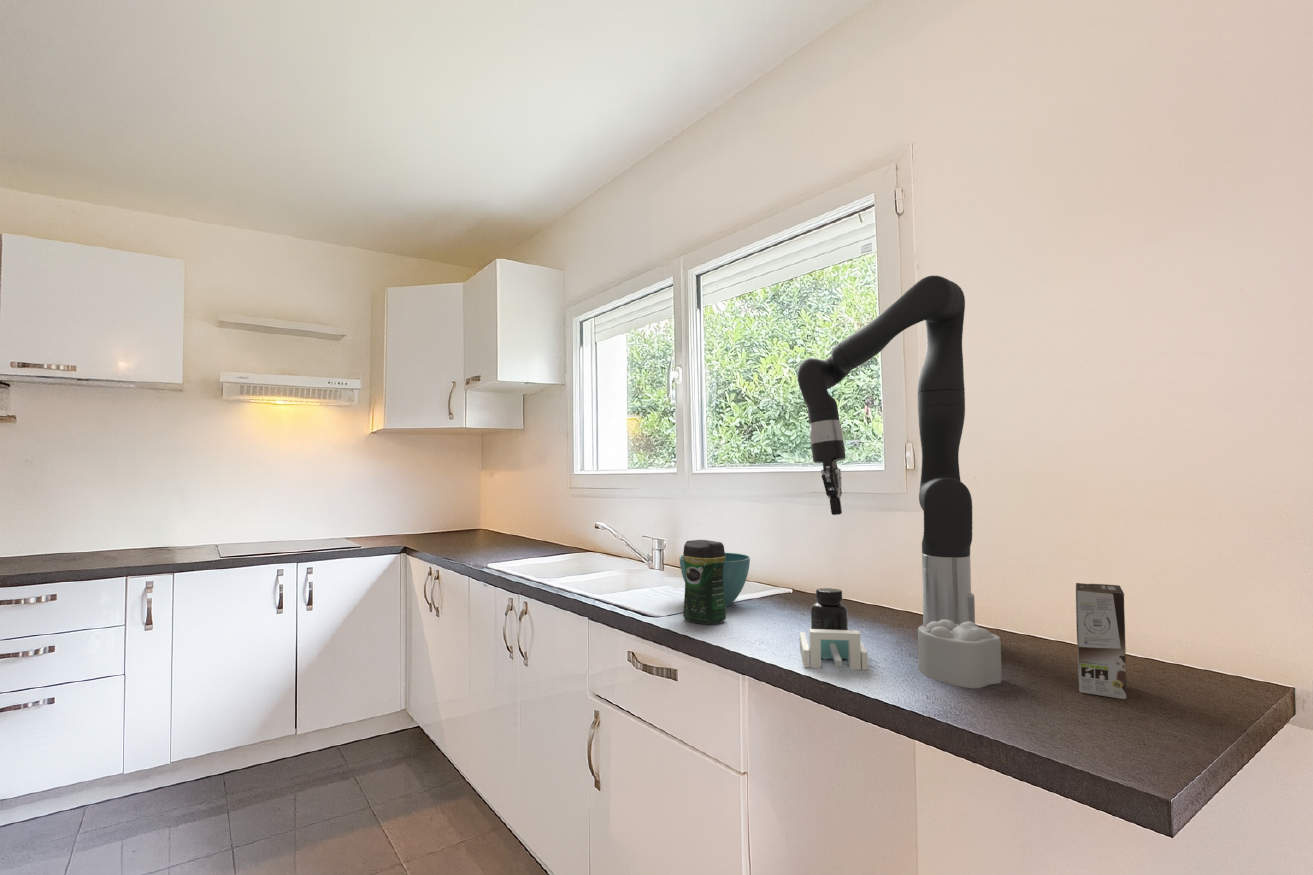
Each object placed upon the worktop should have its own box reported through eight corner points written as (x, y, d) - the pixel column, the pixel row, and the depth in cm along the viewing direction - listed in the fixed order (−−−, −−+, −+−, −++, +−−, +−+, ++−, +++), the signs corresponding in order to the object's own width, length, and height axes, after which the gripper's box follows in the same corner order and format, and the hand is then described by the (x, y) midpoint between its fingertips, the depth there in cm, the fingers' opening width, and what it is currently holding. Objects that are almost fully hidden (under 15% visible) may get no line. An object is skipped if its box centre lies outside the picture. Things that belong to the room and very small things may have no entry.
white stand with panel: (857, 649, 130) (857, 617, 131) (867, 669, 118) (867, 634, 118) (799, 647, 132) (799, 615, 132) (803, 667, 119) (803, 631, 120)
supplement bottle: (850, 659, 124) (849, 593, 125) (812, 657, 125) (811, 592, 126) (845, 649, 131) (845, 587, 132) (810, 647, 132) (809, 586, 133)
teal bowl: (705, 614, 162) (705, 563, 162) (666, 601, 178) (666, 554, 178) (764, 606, 171) (764, 558, 171) (722, 594, 187) (722, 550, 187)
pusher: (854, 657, 124) (853, 635, 124) (863, 677, 112) (863, 653, 112) (809, 655, 125) (809, 634, 126) (814, 675, 114) (814, 651, 114)
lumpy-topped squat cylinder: (969, 690, 107) (968, 635, 107) (903, 669, 118) (902, 619, 119) (1009, 680, 112) (1008, 627, 112) (942, 660, 123) (941, 613, 124)
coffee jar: (731, 621, 155) (731, 540, 156) (708, 627, 149) (708, 543, 150) (700, 614, 162) (700, 537, 163) (677, 619, 156) (677, 539, 157)
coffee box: (1128, 700, 102) (1124, 593, 103) (1078, 693, 105) (1075, 589, 106) (1124, 684, 110) (1121, 584, 110) (1078, 677, 113) (1075, 580, 114)
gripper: (838, 436, 152) (849, 512, 149) (847, 441, 164) (857, 512, 161) (805, 441, 155) (815, 516, 152) (816, 446, 167) (825, 516, 164)
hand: (837, 514), depth 156 cm, fingers closed
